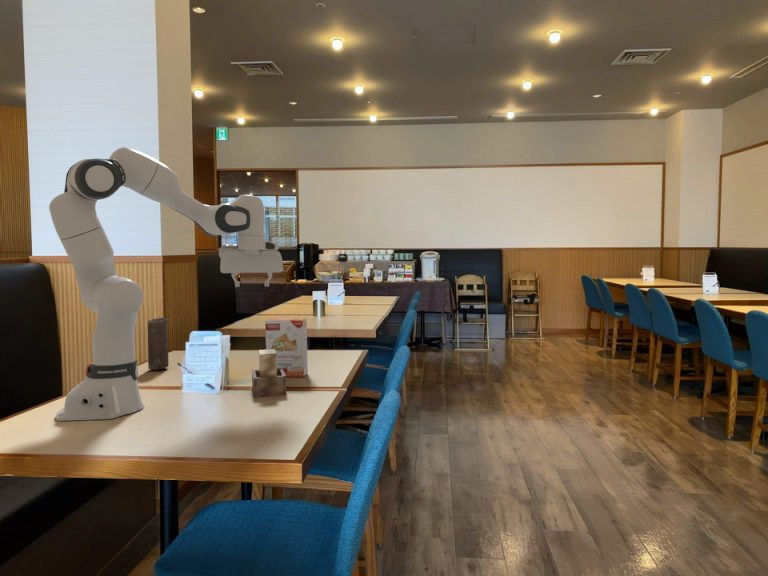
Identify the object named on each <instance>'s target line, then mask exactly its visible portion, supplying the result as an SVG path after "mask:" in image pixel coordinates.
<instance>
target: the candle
mask: <svg viewBox="0 0 768 576" xmlns="http://www.w3.org/2000/svg"><path fill="white" fill-rule="evenodd" d="M168 331H169V330H168V318H166V317H155V318H152V319H148V320H147V350H148V351H147V360H148V362H147V364H148V367H147V368H148V369H149V370H152V371H160V370H164V369H166V368H168V367H169V364H170V363H169V337H168V336H169V335H168Z"/></svg>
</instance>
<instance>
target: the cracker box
mask: <svg viewBox="0 0 768 576" xmlns="http://www.w3.org/2000/svg"><path fill="white" fill-rule="evenodd" d="M307 327H308V326H307V318H290V317H289V318H288V317H287V318H286V317H285V318H284V317H283V318H282V317H280V318H278V317H277V318H273V317H271V318H268V319H266V320H265V350H268V349H274V350H275V352H276V367H277V368H282V369H283V371H284V373H285V375H286V378H304V377H305V376H307V375H308V370H309V369H308V336H307V335H308V333H307V332H308V331H307V330H308V329H307Z"/></svg>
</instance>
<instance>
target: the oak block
mask: <svg viewBox="0 0 768 576" xmlns="http://www.w3.org/2000/svg"><path fill="white" fill-rule="evenodd" d="M258 365H259V369H258V370H259V371H260V377H271V376H277V367H276V352H275V350H274V349H268V350H266V349H258Z"/></svg>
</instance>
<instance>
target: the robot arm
mask: <svg viewBox="0 0 768 576" xmlns="http://www.w3.org/2000/svg"><path fill="white" fill-rule="evenodd" d="M65 176H66V177H65V184H64V190H63V191H64V193H63V192H62V193H60V194H58V195H56V196H55V197H54V198H52V200H51V201H50V202H49V204H48V205H49V207H48V208H49V210H48V211H49V213H50V218H51V220H52V223H53V226H54V229H55V232H56V234H57V236H58V239H59V240H60V243H61V244H62V246H63V248H64V250H65V253H66V254H67V257H68V259H69V262H70V263H71V266H72V267H73V271H74V274H75V278H76V281H77V286H78V289H79V291H80V292H79V293H80V294H79V295H80V300H81V302H82V304H84V306H86V308H88V309H89V310H91V311H92V312H94V313H97V317H96V324H95V329H94V332H93V334H92V336H91V344H92V345H91V346H92V362H89V363H88V364H87V365H86V367H85V370H84V371H85V372H84V373H85V376H86V377H85V378H84V379H83V380H82V381H80V382H79V383H78V384H77V385H76V386H74V387H73V388H72V389H71V390H70V391H69V392H68V393H67V394H66V397H65V401H64V407H62V408H61V409H59V410H58V411H57V412H56V414H55V420H56V421H58V422H59V421H60V422H61V421H62V422H65V421H91V420H112V419H116V418H119V417H121V416H125V415H128V414H133V413H135V412H138V411H140V410H142V409H143V408H144V403H143V401H142V397H141V393H140V389H139V384H138V377H139V367H138V366H139V365H138V360H137V359H136V343H135V335H136V325H137V322H138V321H137V320H138V316H139V315H138V314H139V311H140V310H139V309H141V307H142V305H143V302H144V299H145V295H144V291H143V289H142V287H141V286H140V285H139V284H138V283H137V282H135V281H134V280H132V279H130V278H127V277H125V276H119V275H118V274H117V271H116V267H115V261H114V249H113V247H112V245H111V243H110V240H109V238H108V236H107V234H106V231H105V229H104V227H103V225H102V223H101V221H100V219H99V217H98V215H97V210H96V204H97V201H99V200H104V199H107V198H109V197H112V196H113V195H114V194H115V193H116V192H117V191H118V190H119V189H120V188H121V187H124V188H127V189H130V190H132V191H134V192H135V193H137V194H139V195H142V196H143V197H145V198H147V199H150V200H152V201H154V202H157V203H159V204H162V205H163V206H166V207H169V208H170V209H173V210H174V211H176V212H177V213H179V214H181V215H183V216H184V217H186V218H188V220H189V219H190V220H191V221H192V222H194V223H195V224H196V225H197V227H198V228H199V229H200V231H202V233H204V234H205V235H207V236H209V237H210V236H211V237H219V236H222V235H223V236H224V235H230V234H231V235H232V234H234V233H237V235H236V237H237V244H230V245H229V244H224V245H222V246H220V247H219V248H218V257H219V259H220V265H219V267H220V268H219V270H220V271H219V272H221V273H222V274H231V277H232V279H233V281H234V286H235V287H234V288H240V287H241V285H240V284H241V281H238V280H237V278H236V277H237V274H253V273H254V274H257V273H260V274H262V273H264V274H266V273H267V276H268V278H267V280H265V281H264V287H270V281H271V279H272V278H273V273H282V272H283V270H284V265H283V264H284V262H283V258H282V254H281V252H280V251H279V248H280V247H279V246H280V245H279V244H278V243H276V242H273V241H271V240H267V239H266V235H265V233H266V232H265V230H264V227H265V223H266V222H265V221H266V220H265V207H264V203H263V200H262V199H261V198H260V197H258V196H256V195H252V194H240V195H239V196H238V197H236V198H234V199H233V200H231V201H227V202H225V203H222V204H217V205H208V204H204V203H203V202H200V201H199V200H197V199H195V198H194V197H193V196H191V195H189V194H187V193H186V192H184V191H183V190H182V189H181V187H180V179H179V176H178V174H177V173H176V172H175V171H173V170H172V169H171V168H170V167H169V166H167V165H166V164H164V163H163V162H160V161H159V160H157V159H155V158H153V157H151V156H150V155H148V154H145V153H143V152H141V151H138V150H135V149H133V148H130V147H127V146H125V147H124V146H122V147H119V148H118V149H115V150H114V151H113V152H112V153H111V155H110V157H109V158H87V159H82V160H79V161H78V162H76V163H74V164H73V165H71V166H70V167H69V169H68V171H67V173H66V175H65Z"/></svg>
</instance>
